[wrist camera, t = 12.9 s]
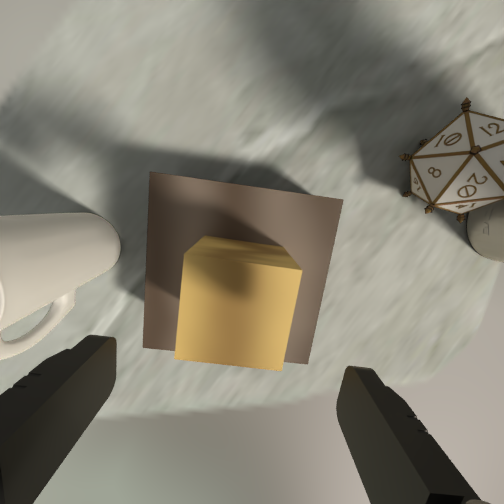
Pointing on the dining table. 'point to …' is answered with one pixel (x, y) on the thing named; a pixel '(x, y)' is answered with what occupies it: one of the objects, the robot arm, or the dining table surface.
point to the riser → (236, 228)
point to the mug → (49, 267)
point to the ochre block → (236, 303)
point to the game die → (460, 164)
